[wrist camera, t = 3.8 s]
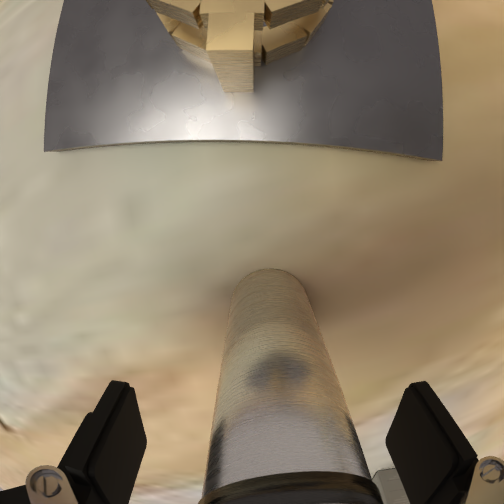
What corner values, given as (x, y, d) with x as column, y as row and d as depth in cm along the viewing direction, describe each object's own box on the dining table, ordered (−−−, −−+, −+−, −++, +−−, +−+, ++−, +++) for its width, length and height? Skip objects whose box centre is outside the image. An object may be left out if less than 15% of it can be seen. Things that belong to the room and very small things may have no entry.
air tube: (312, 268, 18) (447, 561, 2) (304, 339, 19) (367, 606, 4) (229, 265, 18) (162, 590, 2) (229, 337, 19) (195, 616, 4)
